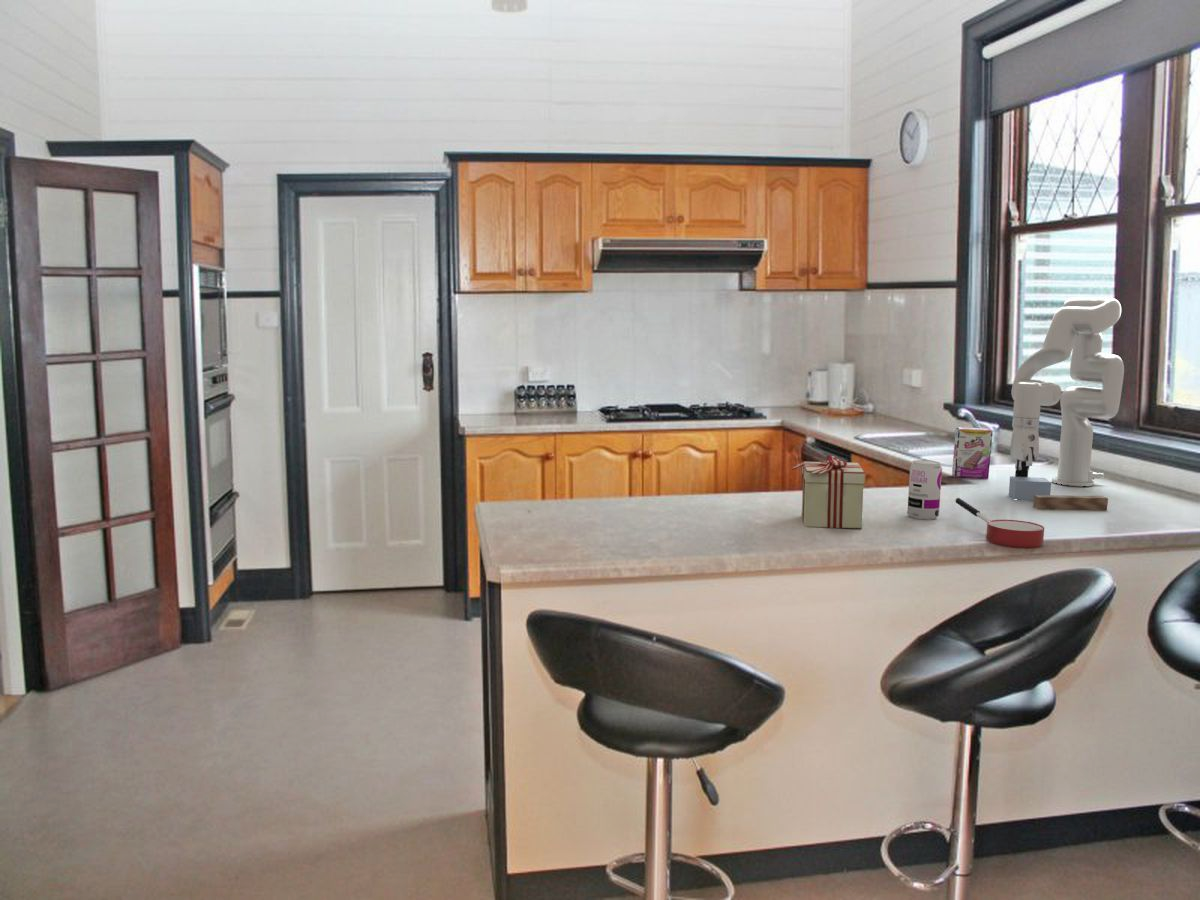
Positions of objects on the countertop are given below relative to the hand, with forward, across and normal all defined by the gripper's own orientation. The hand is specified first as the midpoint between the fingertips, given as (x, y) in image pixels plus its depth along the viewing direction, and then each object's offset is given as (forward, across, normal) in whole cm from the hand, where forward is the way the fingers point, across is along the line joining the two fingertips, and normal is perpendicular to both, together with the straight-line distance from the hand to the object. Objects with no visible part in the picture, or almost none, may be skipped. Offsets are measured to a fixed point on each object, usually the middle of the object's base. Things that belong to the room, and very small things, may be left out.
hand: (1020, 482), depth 332 cm
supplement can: (+4, -36, +43) cm, 56 cm away
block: (+4, -6, 0) cm, 7 cm away
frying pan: (+4, -56, +33) cm, 65 cm away
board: (+4, -21, -5) cm, 22 cm away
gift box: (+4, -45, +72) cm, 85 cm away
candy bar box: (+4, +31, +3) cm, 32 cm away
